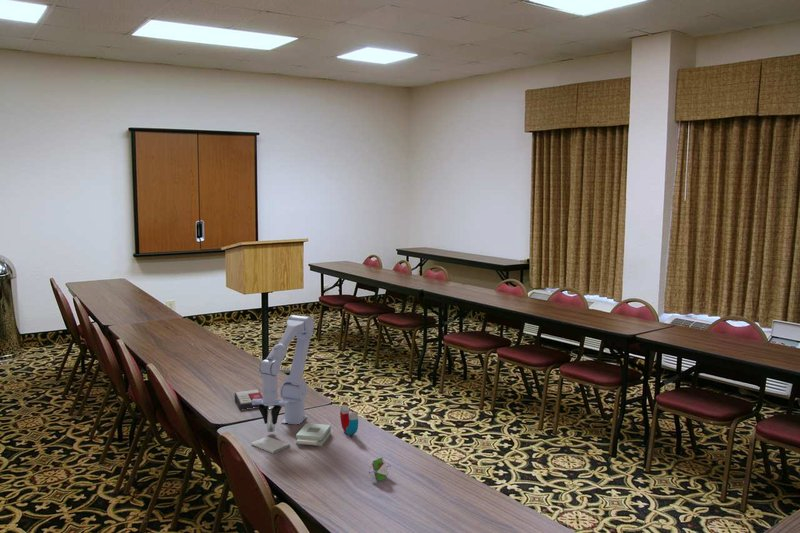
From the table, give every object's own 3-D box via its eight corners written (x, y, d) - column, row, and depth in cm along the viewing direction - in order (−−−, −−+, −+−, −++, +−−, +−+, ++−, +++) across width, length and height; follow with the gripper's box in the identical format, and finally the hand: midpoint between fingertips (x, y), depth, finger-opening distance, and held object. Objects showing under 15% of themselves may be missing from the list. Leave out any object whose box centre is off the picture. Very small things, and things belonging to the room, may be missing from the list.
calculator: (240, 403, 271) (234, 391, 284) (240, 412, 271) (234, 400, 285) (265, 400, 275) (258, 388, 289) (265, 409, 276) (258, 396, 289)
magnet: (358, 437, 243) (358, 413, 242) (352, 439, 242) (352, 414, 240) (346, 427, 253) (346, 403, 252) (340, 428, 252) (339, 405, 251)
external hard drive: (273, 455, 228) (250, 446, 235) (289, 448, 235) (267, 439, 242) (273, 451, 228) (250, 442, 235) (289, 443, 234) (267, 435, 242)
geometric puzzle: (361, 470, 211) (371, 456, 207) (376, 464, 216) (386, 450, 211) (373, 488, 207) (383, 474, 203) (388, 481, 212) (398, 468, 208)
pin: (268, 428, 248) (268, 406, 246) (275, 429, 247) (275, 407, 246) (265, 431, 245) (265, 409, 243) (273, 432, 244) (272, 410, 243)
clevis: (306, 431, 248) (306, 423, 248) (330, 433, 247) (330, 425, 246) (294, 446, 235) (294, 436, 234) (319, 448, 233) (319, 439, 233)
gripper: (248, 392, 241) (249, 425, 243) (283, 394, 238) (284, 428, 240) (255, 386, 248) (256, 419, 250) (290, 388, 245) (290, 421, 247)
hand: (270, 423), depth 245 cm, fingers closed on pin, 3 cm apart
